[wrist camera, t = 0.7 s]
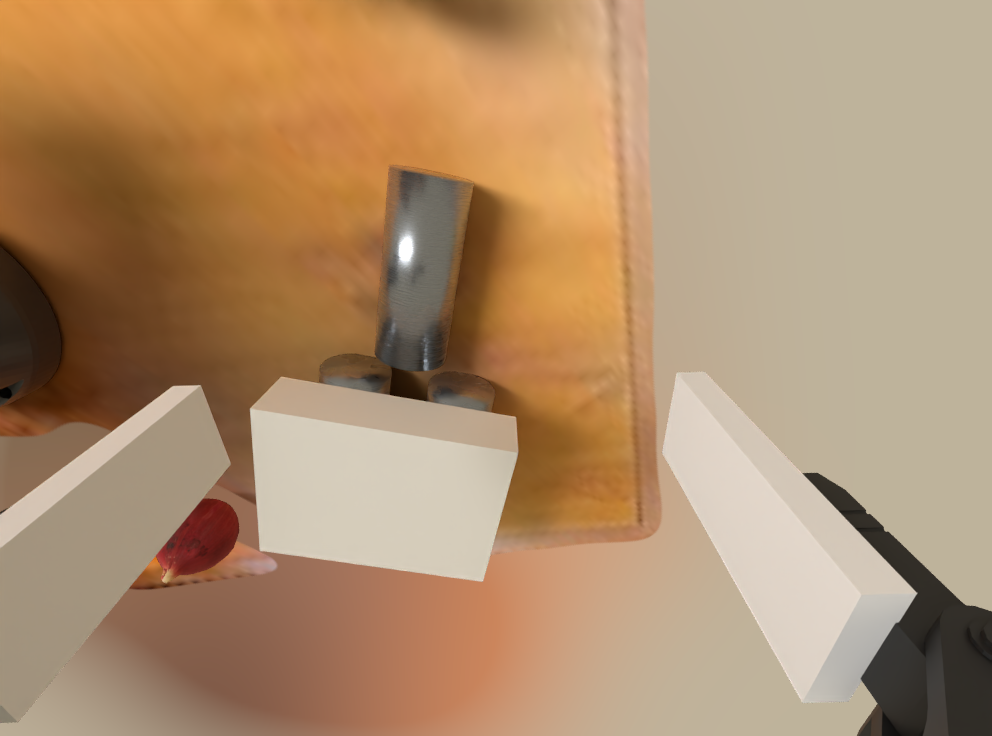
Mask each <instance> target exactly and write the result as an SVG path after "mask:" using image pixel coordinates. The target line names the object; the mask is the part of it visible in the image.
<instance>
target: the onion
mask: <svg viewBox="0 0 992 736" xmlns="http://www.w3.org/2000/svg"><path fill="white" fill-rule="evenodd" d="M238 533H239V523H238V517H237V515H236V513H235V511H234V510H233V508H232V507H231V506H230V505H228V504H227V503H225V502H223V501H220V500H217V499H202V500H201V501H200V503H199V504H198V505H197V506H196V507H195V509H194V510H193V511H192V512H191V513H190V515H189V516H188V517H187V518H186V519H185V521H184V522H183V523H182V524H181V526H180V527H179V528H178V529H177V530H176V532H175V533H174V534H173V535H172V536H171V538H170V539H169V540H168V541H167V542H166V544H165V545H164V546H163V547H162V549H161V550H160V551H159V552H158V553H157V555H156V557H157V560H158V562H159V563H160V565H161V567H162V568H163V574H162V576H161V580H162V581H163V582H164V583H168V582H169V581H172V580H173V579H174V578H176V577H177V576H178V575H189V574H194V573H198V572H201V571H204V570H207V569H209V568H211V567H213V566H215V565H216V564H217V563H218V562H220V561H221V560H222V559H224V558H225V557H226V556H227V555H228V554H229V553H230V552H231V550H232V549H233V548H234V545H235V542H236V540H237V537H238Z"/></svg>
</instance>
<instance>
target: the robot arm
mask: <svg viewBox="0 0 992 736" xmlns="http://www.w3.org/2000/svg"><path fill="white" fill-rule="evenodd" d="M60 358H61V337H60V331H59V327H58V324H57V321H56V318H55V316H54V313H53V311H52V309H51V307H50V305H49V303H48V301H47V300H46V298H45V296H44V295H43V293H42V291H41V290H40V289H39V287H38V286H37V284H36V283H35V282H34V280H33V279H32V278H31V277H30V275H29V274H28V273H27V272H26V271H25V270H24V269H23V268H22V266H21V265H20V264H19V263H18V262H17V261H16V260H15V259H14V258H13V257H11V256H10V255H9V254H8V253H7V252H6V251H5V250H4V249H3V248H1V247H0V407H1V406H4V405H7V404H9V403H12V402H14V401H16V400H18V399H20V398H22V397H24V396H26V395H28V394H30V393H32V392H33V391H35V390H37V389H39V388H41V387H42V386H44V385H45V384H46V383H47V382H48V381H49V380H50V379H51V378H52V377H53V375H54V374H55V372H56V370H57V368H58V365H59V362H60ZM662 454H663V456H664V457H665V459H666V461H667V463H668V465H669V466H670V468H671V470H672V472H673V473H674V475H675V477H676V478H677V480H678V482H679V484H680V486H681V488H682V489H683V491H684V493H685V495H686V497H687V498H688V500H689V502H690V504H691V505H692V507H693V509H694V511H695V513H696V514H697V516H698V518H699V520H700V521H701V523H702V525H703V527H704V529H705V530H706V532H707V534H708V536H709V537H710V539H711V541H712V543H713V545H714V546H715V548H716V550H717V552H718V553H719V555H720V557H721V559H722V561H723V562H724V564H725V566H726V568H727V570H728V571H729V573H730V575H731V577H732V578H733V580H734V582H735V584H736V586H737V587H738V589H739V591H740V593H741V594H742V596H743V598H744V600H745V602H746V603H747V605H748V607H749V609H750V611H751V612H752V614H753V616H754V618H755V619H756V621H757V623H758V625H759V626H760V628H761V630H762V632H763V634H764V635H765V637H766V639H767V641H768V643H769V644H770V646H771V648H772V650H773V651H774V653H775V655H776V657H777V659H778V660H779V662H780V664H781V665H782V667H783V669H784V671H785V673H786V675H787V676H788V678H789V680H790V682H791V683H792V685H793V687H794V689H795V691H796V692H797V694H798V696H799V697H800V699H801V701H802V703H810V702H811V703H813V702H848V701H849V700H850V698H851V697H852V695H853V694H854V692H855V690H856V689H857V687H858V686H859V684H860V682H861V681H862V682H863V683H864V684H865V686H866V687H867V689H868V690H869V692H870V693H871V694H872V696H873V697H874V699H875V700H876V702H877V703H878V704H877V705H876V707H875V709H874V710H873V711H872V713H871V714H870V716H869V717H868V718H867V720H866V721H865V723H864V724H863V726H862V727H861V728H860V730H859V732H858V734H857V736H992V612H991V611H988V610H985V609H982V608H979V607H976V606H966V605H965V604H963V603H962V602H961V601H960V600H959V599H958V598H957V597H956V596H955V595H954V594H953V593H952V592H951V591H950V590H949V589H947V588H946V587H945V586H944V585H943V584H942V583H941V582H940V581H939V580H938V579H937V578H936V577H935V576H934V575H933V574H932V573H931V572H930V571H929V570H928V569H927V568H926V567H925V566H924V565H922V563H920V562H919V561H918V560H917V559H916V558H915V557H914V556H913V555H912V554H911V553H910V552H909V551H908V550H907V549H906V548H905V547H904V546H903V545H902V544H901V543H900V542H899V541H898V540H897V539H895V538H894V537H893V536H892V535H891V534H890V533H889V532H885V531H884V527H883V526H882V525H881V524H880V523H879V522H878V521H877V520H876V519H875V518H874V517H873V516H872V515H870V514H867V513H866V510H865V509H864V508H863V507H862V506H861V505H860V504H859V503H858V502H857V501H856V500H855V499H854V498H853V497H852V496H851V495H850V494H849V493H848V492H847V491H846V490H845V489H843V488H841V487H840V486H838V485H836V484H835V483H833V482H831V481H829V480H828V479H827V478H825V477H823V476H822V475H820V474H818V473H801V472H800V471H799V470H798V469H797V467H795V465H794V464H793V463H791V461H790V460H789V459H788V458H787V457H786V456H785V455H784V454H783V453H782V452H781V451H780V450H779V449H778V448H777V447H776V446H775V444H774V443H773V442H772V441H771V440H770V439H769V438H768V437H767V436H766V435H765V434H764V433H763V432H762V431H761V430H760V429H759V428H758V427H757V426H756V425H755V424H754V423H753V422H752V420H750V418H749V417H748V416H747V415H746V414H745V413H744V412H743V411H742V410H741V409H740V408H739V407H738V406H737V405H736V404H735V403H734V402H733V401H732V400H731V399H730V398H729V397H728V396H727V395H726V393H725V392H724V391H723V390H722V389H721V388H720V387H719V386H718V385H717V384H716V383H715V382H714V381H713V380H712V379H711V378H710V377H709V376H708V375H707V374H706V373H705V372H678V373H677V375H676V380H675V385H674V391H673V396H672V402H671V407H670V412H669V417H668V423H667V428H666V434H665V439H664V444H663V450H662ZM230 465H231V463H230V460H229V457H228V455H227V452H226V450H225V447H224V444H223V442H222V439H221V437H220V434H219V431H218V429H217V426H216V424H215V421H214V418H213V416H212V413H211V411H210V408H209V405H208V403H207V400H206V398H205V395H204V392H203V390H202V387H201V385H192V386H172V387H171V388H170V389H168V390H167V391H166V392H164V393H163V394H162V395H160V396H159V397H158V398H156V399H155V400H154V401H152V402H151V403H150V404H148V405H147V406H146V407H144V408H143V409H142V410H140V411H139V412H138V413H136V414H135V415H133V416H132V417H131V418H129V419H128V420H127V421H125V422H124V423H123V424H121V425H120V426H119V427H117V428H116V429H115V430H113V431H112V432H111V433H109V434H108V435H107V436H105V437H104V438H103V439H101V440H100V441H99V442H97V443H96V444H95V445H93V446H92V447H91V448H89V449H88V450H87V451H85V452H84V453H83V454H81V455H80V456H79V457H77V458H76V459H74V460H73V461H72V462H70V463H69V464H68V465H67V466H65V467H64V468H62V469H61V470H60V471H58V472H57V473H56V474H54V475H53V476H52V477H50V478H49V479H48V480H46V481H45V482H44V483H42V484H41V485H39V486H38V487H37V488H36V489H34V490H33V491H32V492H30V493H29V494H27V495H26V496H25V497H24V498H22V499H21V500H19V501H18V502H17V503H15V504H14V505H12V506H11V507H9V508H7V509H5V510H3V511H1V512H0V723H8V722H19V721H20V719H21V718H22V717H23V716H24V715H25V713H26V712H27V711H28V710H29V708H30V707H31V706H32V705H33V704H34V702H35V701H36V700H37V699H38V698H39V696H40V695H41V694H42V693H43V691H44V690H45V689H46V688H47V687H48V685H49V684H50V683H51V682H52V681H53V679H54V678H55V677H56V676H57V674H58V673H59V672H60V671H61V670H62V668H63V667H64V666H65V665H66V664H67V662H68V661H69V660H70V659H71V658H72V656H73V655H74V654H75V652H76V651H77V650H78V649H79V648H80V647H81V645H82V644H83V643H84V642H85V641H86V639H87V638H88V636H90V634H91V633H92V632H93V631H94V630H95V629H96V627H97V626H98V625H99V623H100V622H101V621H102V620H103V619H104V618H105V616H106V615H107V614H108V613H109V612H110V610H111V609H112V608H113V606H114V605H115V604H116V603H117V602H118V601H119V599H120V598H121V597H122V596H123V595H124V593H125V592H126V591H127V590H128V589H129V587H130V586H131V585H132V584H133V582H134V581H135V580H136V579H137V578H138V576H139V575H140V574H141V573H142V572H143V570H144V569H145V568H146V567H147V566H148V564H149V563H150V562H151V561H152V559H153V558H154V557H155V556H156V555H157V553H158V552H159V551H160V550H161V549H162V547H163V546H164V545H165V544H166V542H167V541H168V540H169V539H170V538H171V536H172V535H173V534H174V533H175V532H176V530H177V529H178V528H179V527H180V526H181V524H182V523H183V522H184V521H185V519H186V518H187V517H188V516H189V515H190V513H191V512H192V511H193V510H194V509H195V507H196V506H197V505H198V504H199V503H200V501H201V500H202V499H203V498H204V496H205V495H206V494H207V493H208V492H209V490H210V489H211V488H212V487H213V485H214V484H215V483H216V482H217V481H218V479H219V478H220V477H221V476H222V475H223V473H224V472H225V471H226V470H227V469H228V467H229V466H230Z"/></svg>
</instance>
